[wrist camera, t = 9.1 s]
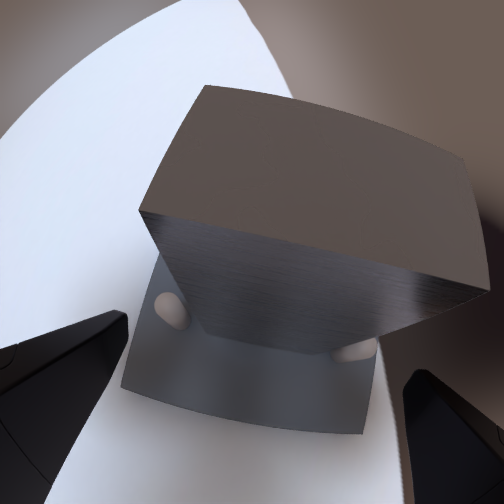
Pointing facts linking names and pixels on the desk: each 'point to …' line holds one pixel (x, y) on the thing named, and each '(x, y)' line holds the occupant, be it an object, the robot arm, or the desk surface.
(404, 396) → the robot arm
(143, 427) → the desk surface
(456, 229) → the block
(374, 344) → the grey pegged stand
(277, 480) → the desk surface
